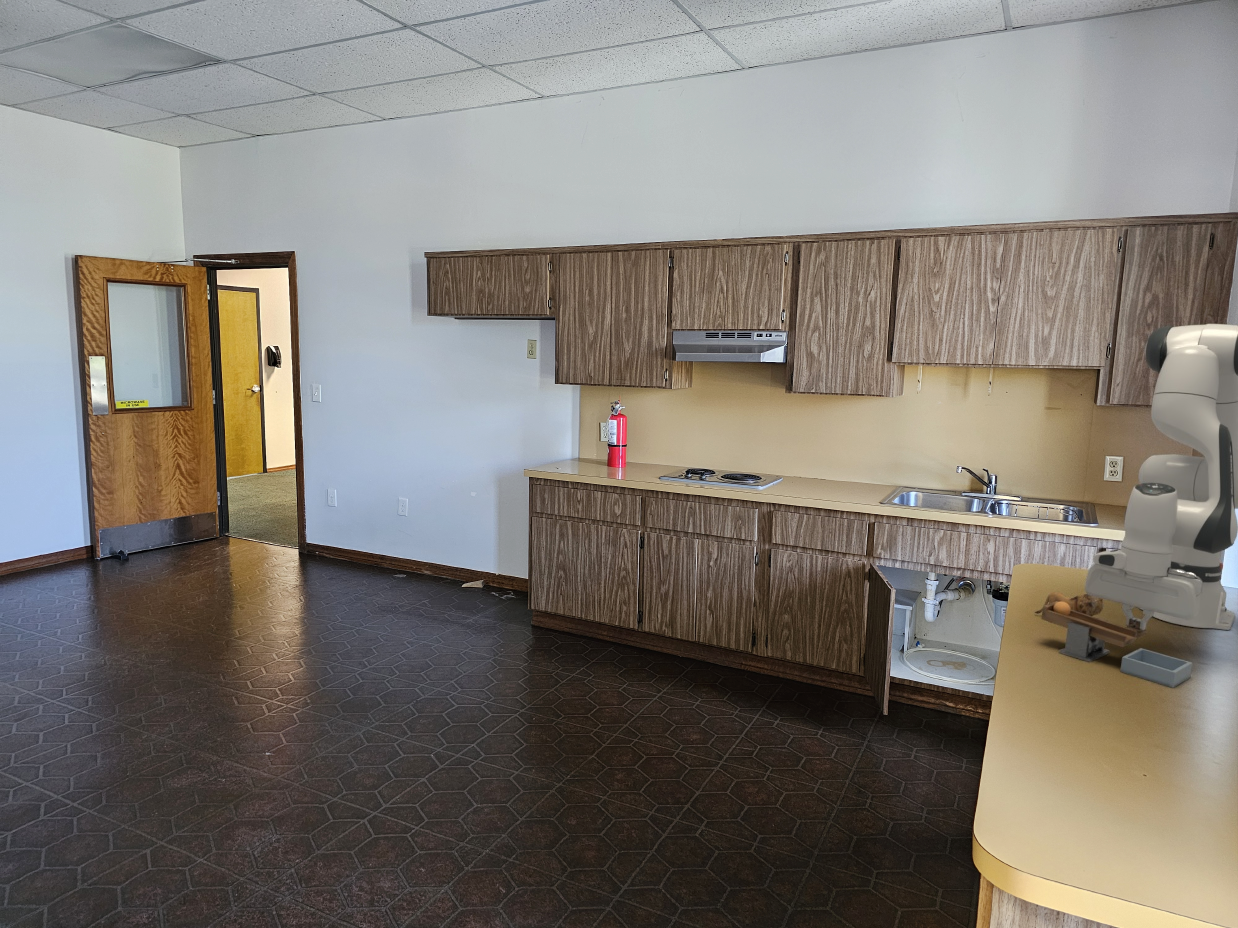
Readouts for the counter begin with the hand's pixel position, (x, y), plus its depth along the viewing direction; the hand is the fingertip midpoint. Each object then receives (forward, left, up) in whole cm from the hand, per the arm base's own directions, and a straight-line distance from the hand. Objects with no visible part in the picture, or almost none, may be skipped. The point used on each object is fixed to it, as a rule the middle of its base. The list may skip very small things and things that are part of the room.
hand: (1135, 627), depth 167 cm
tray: (+8, +7, -6) cm, 12 cm away
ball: (+8, -12, +2) cm, 14 cm away
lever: (+4, -6, -1) cm, 8 cm away
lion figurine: (-9, -16, -6) cm, 19 cm away
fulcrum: (+8, -6, -6) cm, 12 cm away
